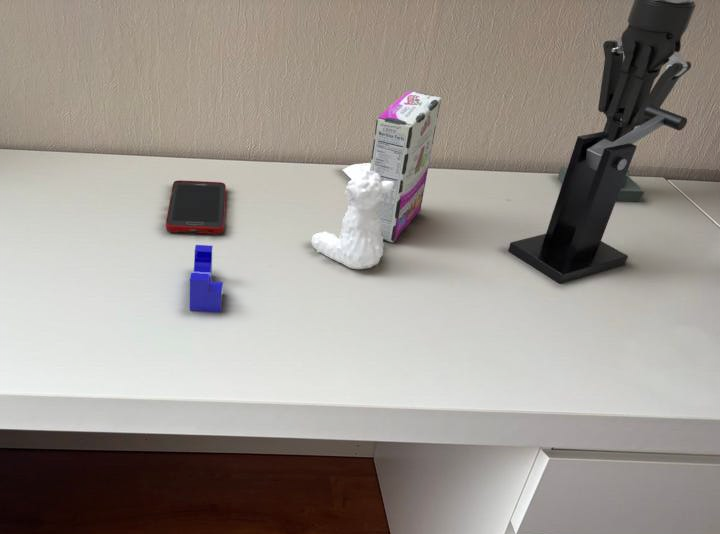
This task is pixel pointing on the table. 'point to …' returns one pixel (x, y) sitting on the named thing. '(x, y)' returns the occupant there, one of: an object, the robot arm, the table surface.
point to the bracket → (580, 216)
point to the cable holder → (204, 283)
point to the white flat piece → (356, 169)
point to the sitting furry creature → (358, 224)
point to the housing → (627, 191)
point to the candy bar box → (404, 158)
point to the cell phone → (196, 207)
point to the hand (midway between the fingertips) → (605, 164)
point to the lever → (636, 132)
